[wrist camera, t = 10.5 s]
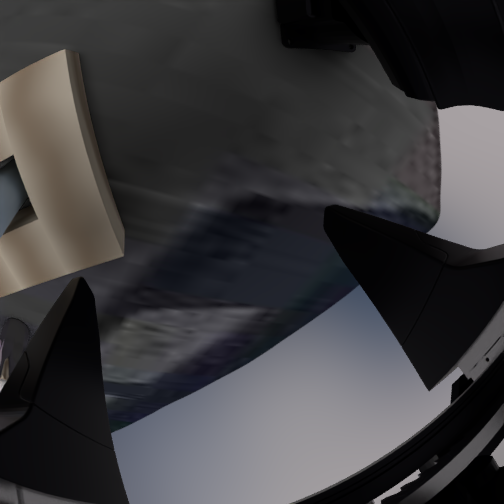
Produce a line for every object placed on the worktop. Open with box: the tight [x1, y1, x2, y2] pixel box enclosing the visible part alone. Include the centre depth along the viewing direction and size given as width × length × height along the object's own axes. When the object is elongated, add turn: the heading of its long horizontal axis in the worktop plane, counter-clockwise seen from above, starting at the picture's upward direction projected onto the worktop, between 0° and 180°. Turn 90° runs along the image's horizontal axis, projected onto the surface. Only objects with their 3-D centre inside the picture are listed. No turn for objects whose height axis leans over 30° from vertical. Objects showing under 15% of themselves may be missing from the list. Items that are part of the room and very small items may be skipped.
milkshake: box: [0, 318, 29, 391], centre depth 17 cm, size 5×5×10 cm
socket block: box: [0, 49, 125, 297], centre depth 13 cm, size 14×14×4 cm
